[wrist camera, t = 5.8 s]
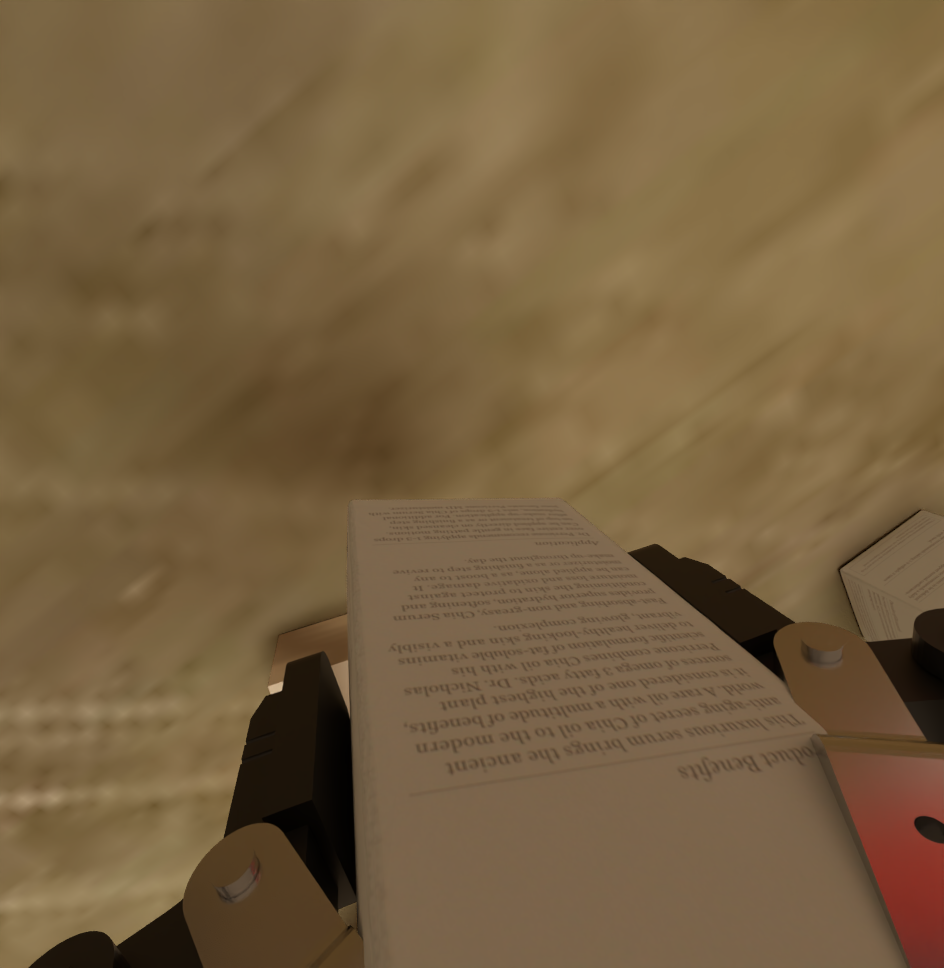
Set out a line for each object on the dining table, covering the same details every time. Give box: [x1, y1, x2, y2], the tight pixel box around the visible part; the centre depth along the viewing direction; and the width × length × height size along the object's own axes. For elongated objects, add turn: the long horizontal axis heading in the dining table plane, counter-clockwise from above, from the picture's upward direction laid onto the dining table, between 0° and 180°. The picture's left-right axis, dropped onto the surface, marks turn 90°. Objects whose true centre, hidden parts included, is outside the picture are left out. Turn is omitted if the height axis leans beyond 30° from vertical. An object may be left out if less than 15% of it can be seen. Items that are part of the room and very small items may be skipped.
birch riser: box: [268, 614, 350, 716], centre depth 28 cm, size 18×11×4 cm, turn 102°
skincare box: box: [347, 498, 907, 968], centre depth 9 cm, size 6×4×12 cm
